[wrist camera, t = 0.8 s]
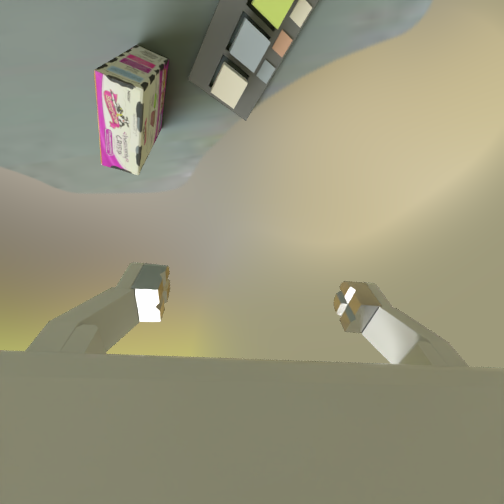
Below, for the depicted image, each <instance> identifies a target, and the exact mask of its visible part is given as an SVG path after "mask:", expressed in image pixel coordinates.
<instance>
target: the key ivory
mask: <svg viewBox="0 0 504 504" xmlns="http://www.w3.org/2000/svg"><path fill="white" fill-rule="evenodd" d="M247 84H248V82H247V79H246V78H245V77H243V76H242V75H241V74H240V73H238V72H237V71H236V70H235V69H233V68H232V67H231V66H230V65H229V64H227V63H226V62H225V61H224V62H223V64H222V67H221V69H220V71H219V73H218V75H217V77H216V79H215V81H214V84H213V86H212V88H211V93H212V94H214V95H215V96H216V97H218V98H219V99H221V100H222V101H223V102H225V103H226V104H227V105H229V106H230V107H232V108H233V109H234V108H235V106H236V104H237V102H238V100H239V99H240V97H241V95H242V93H243V91H244V90H245V88H246V86H247Z"/></svg>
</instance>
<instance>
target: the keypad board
mask: <svg viewBox="0 0 504 504" xmlns="http://www.w3.org/2000/svg"><path fill="white" fill-rule="evenodd" d="M247 1H248V0H219V3H218V5H217V8H216V10H215V13H214V15H213V18H212V20H211V23H210V25H209V28H208V30H207V33H206V35H205V38H204V40H203V43H202V45H201V48H200V50H199V52H198V55H197V57H196V60H195V62H194V65H193V67H192V70H191V72H190V75H189V77H188V80H189V81H191V82H192V83H193V84H195V85H196V86H198V87H199V88H200V89H202V90H203V91H205V92H206V93H207V94H209V95H210V96H212V97H213V98H215V99H216V100H217V101H219V102H220V103H222V104H223V105H224V106H226V107H227V108H229V109H230V110H231V111H233V112H234V113H236V114H237V115H238V116H240V117H241V118H243V119H244V120H245V121H246V120H247V118H248V116H249V115H250V113H251V111H252V110H253V108H254V106H255V105H256V103H257V102H258V100H259V98H260V97H261V95H262V93H263V92H264V90H265V88H266V87H267V85H268V83H269V82H270V80H271V78H272V77H273V75H274V73H275V72H276V70H277V68H278V67H279V65H280V64H281V62H282V60H283V59H284V57H285V55H286V54H287V52H288V50H289V49H290V47H291V45H292V44H293V42H294V40H295V39H296V37H297V35H298V34H299V32H300V31H301V29H302V27H303V26H304V24H305V22H306V21H307V19H308V17H309V16H310V14H311V12H312V11H313V9H314V7H315V6H316V4H317V2H318V1H319V0H294V1H293V3H292V5H291V7H290V9H289V10H288V12H287V14H286V16H285V18H284V19H283V21H282V23H281V25H280V27H279V28H278V29H276V28H274V30H273V31H272V30H271V29H270V28H269V27H268V26H267V25H266V24H265V23H264V22H263V21H262V20H261V19H260V18H259V17H258V16H257V15H256V14H255V13H254V12H253V11H252V10H251V9H250V8H249V7H248V6H247V5H246V3H247ZM243 11H244V12H245V13H246V14H247V15H248V16H249V17H250V18H251V19H252V20H253V21H255V22H256V23H257V24H258V25H259V26H260V27H261V28H262V29H263V30H264V31H265V32H266V33H267V34H268V35H269V36H270V37H269V39H268V40H269V41H270V42H271V43H270V45H269V46H268V48H267V50H266V52H265V54H264V55H263V57H262V59H261V61H260V63H259V64H258V66H257V68H256V70H255V72H254V73H253V72H252V71H251V70H249V69H248V68H247V67H246V66H245V65H244V64H242V63H241V62H240V61H239V60H238V59H236V58H235V57H234V56H233V55H232V54H230V51H229V50H228V49H226V47H227V45H228V43H229V40H230V38H231V36H232V34H233V32H234V29H235V27H236V25H237V23H238V21H239V19H240V16H241V14H242V12H243ZM223 54H224V55H225V56H226V57H227V58H228V59H230V60H231V61H232V62H233V63H235V64H236V65H237V66H238V67H239V68H241V69H242V70H243V71H244V72H245V73H247V74H248V77H247V82H248V84H247V86H246V88H245V90H244V91H243V93H242V95H241V97H240V99H239V100H238V102H237V104H236V106H235V108H234V109H233V108H232V107H230V106H229V105H227V104H226V103H225V102H223V101H222V100H221V99H219V98H218V97H216V96H215V95H214V94H212V93H211V88H212V86H211V85H209V84H210V82H211V79H212V77H213V75H214V73H215V71H216V69H217V66H218V64H219V62H220V60H221V58H222V56H223Z"/></svg>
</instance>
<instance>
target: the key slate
mask: <svg viewBox="0 0 504 504" xmlns="http://www.w3.org/2000/svg"><path fill="white" fill-rule="evenodd" d="M270 43H271V42H270V41H269V40H268V39H267V38H266V37H265V36H264V35H263V34H262V33H261V32H260V31H259V30H258V29H257V28H256V27H254V26H253V25H252V24H251V23H250V22H249V21H248V20H247V19H246V18H244V20H243V22H242V24H241V26H240V28H239V30H238V33H237V35H236V37H235V39H234V41H233V43H232V45H231V47H230V50H229V51H230V54H232V55H233V56H234V57H235V58H236V59H238V60H239V61H240V62H241V63H242V64H244V65H245V66H246V67H247V68H248V69H249V70H251V71H252V72H253V73H254V72H255V70H256V68H257V66H258V64H259V63H260V61H261V59H262V57H263V55H264V54H265V52H266V50H267V48H268V46H269V45H270Z"/></svg>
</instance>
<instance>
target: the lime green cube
mask: <svg viewBox="0 0 504 504" xmlns="http://www.w3.org/2000/svg"><path fill="white" fill-rule="evenodd" d="M293 1H294V0H253V1H252V3H251V4H252V5H253V6H254V7H255V8H256V9H257V10H258V11H259V12H260V13H261V14H262V15H263V16H264V17H265V18H266V19H267V20H268V21H269V22H270V23H271V24H272V25H273V26H274V27H275V28H276V29H278V28H279V27H280V25H281V23H282V21H283V19H284V18H285V16H286V14H287V12H288V10H289V9H290V7H291V5H292V3H293Z"/></svg>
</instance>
